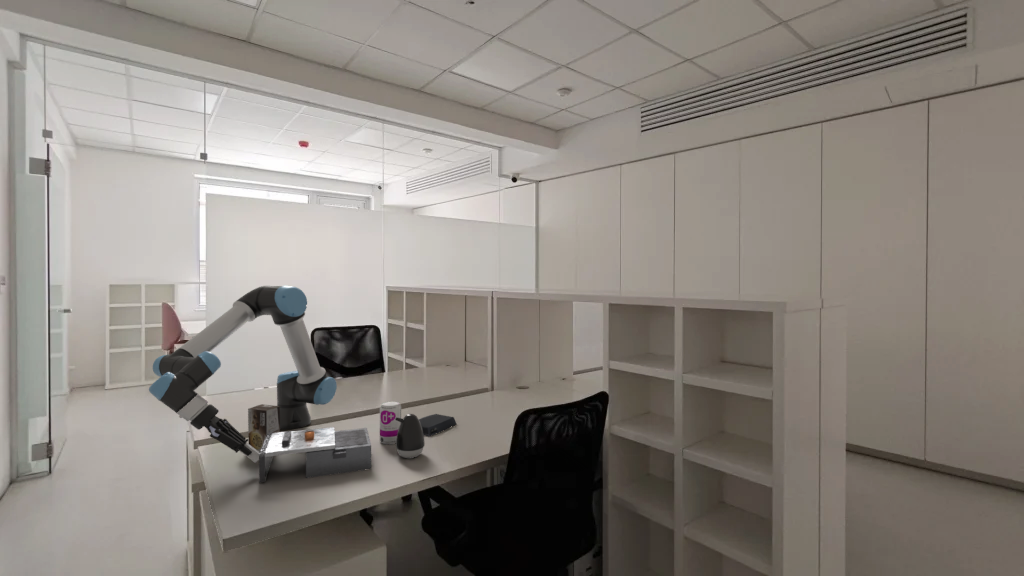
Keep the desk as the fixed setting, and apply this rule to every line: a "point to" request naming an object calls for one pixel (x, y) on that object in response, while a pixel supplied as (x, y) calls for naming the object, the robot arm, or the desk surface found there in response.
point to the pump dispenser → (409, 436)
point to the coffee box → (262, 424)
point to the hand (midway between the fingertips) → (258, 458)
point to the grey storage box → (341, 454)
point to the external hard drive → (436, 423)
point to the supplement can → (389, 421)
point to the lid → (293, 445)
